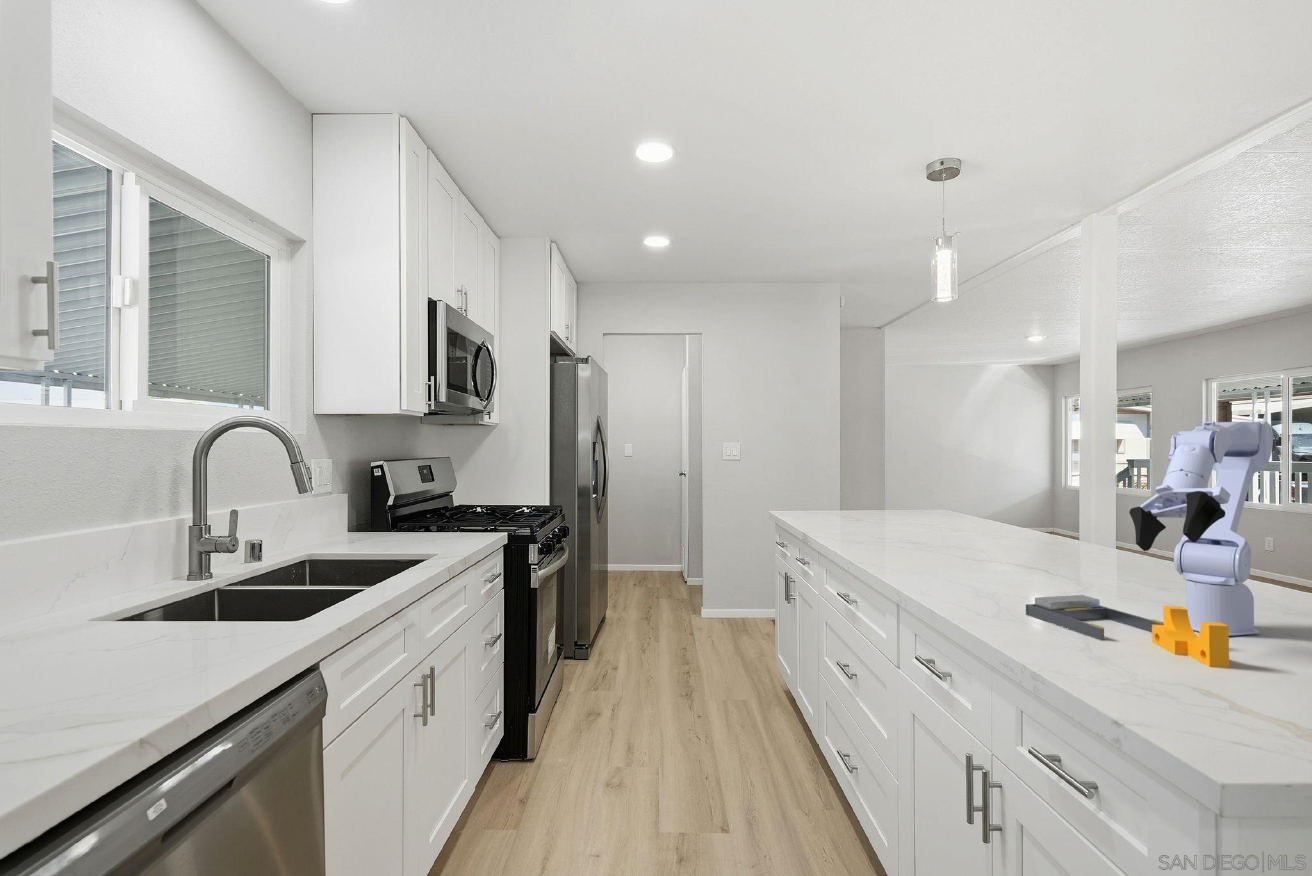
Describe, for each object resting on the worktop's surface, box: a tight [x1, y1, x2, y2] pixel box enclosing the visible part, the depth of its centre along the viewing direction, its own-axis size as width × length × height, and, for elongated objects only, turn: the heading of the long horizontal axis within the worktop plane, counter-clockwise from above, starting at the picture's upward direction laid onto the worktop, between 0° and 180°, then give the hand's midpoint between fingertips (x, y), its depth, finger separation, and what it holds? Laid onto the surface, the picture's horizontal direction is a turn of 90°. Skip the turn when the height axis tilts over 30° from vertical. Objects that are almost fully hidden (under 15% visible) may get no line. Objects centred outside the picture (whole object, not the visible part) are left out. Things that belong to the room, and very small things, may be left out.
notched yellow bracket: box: [1151, 605, 1230, 669], centre depth 104 cm, size 12×4×6 cm, turn 169°
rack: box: [1025, 594, 1164, 641], centre depth 122 cm, size 14×17×4 cm
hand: (1165, 542), depth 103 cm, fingers open, 7 cm apart
